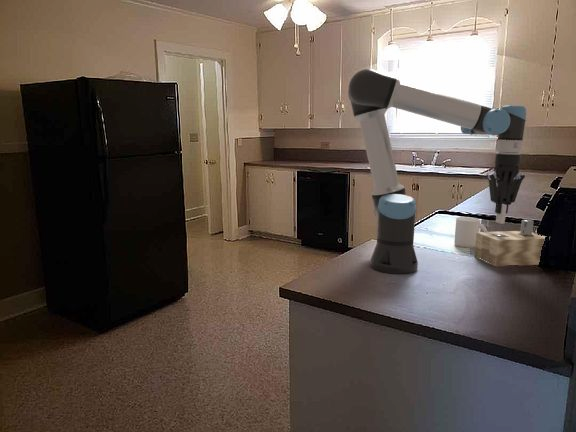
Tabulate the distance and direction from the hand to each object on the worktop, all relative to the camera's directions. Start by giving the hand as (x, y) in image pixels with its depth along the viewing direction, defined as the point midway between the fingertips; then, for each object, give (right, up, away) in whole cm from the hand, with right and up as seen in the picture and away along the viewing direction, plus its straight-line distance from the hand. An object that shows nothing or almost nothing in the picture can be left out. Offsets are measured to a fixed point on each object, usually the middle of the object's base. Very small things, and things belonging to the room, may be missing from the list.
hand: (500, 222), depth 149 cm
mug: (-1, -10, +22) cm, 24 cm away
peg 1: (0, -13, +2) cm, 13 cm away
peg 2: (+10, -8, +3) cm, 13 cm away
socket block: (+5, -13, +3) cm, 15 cm away
